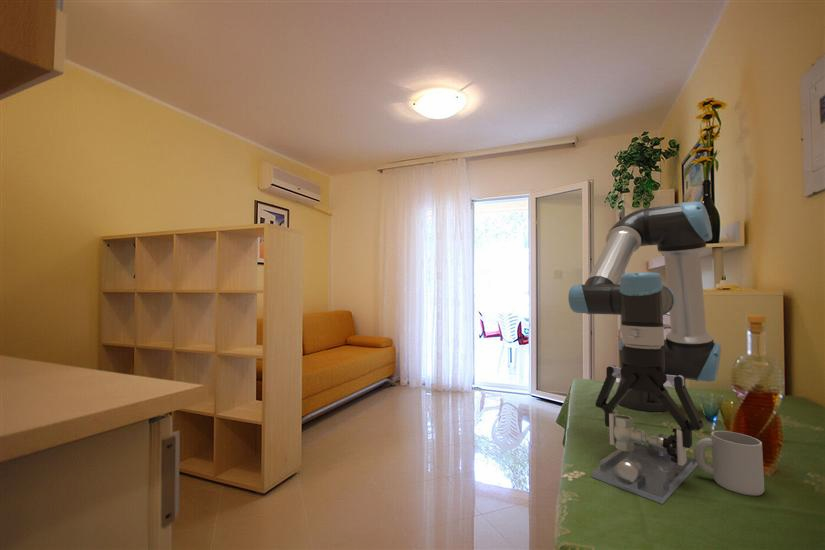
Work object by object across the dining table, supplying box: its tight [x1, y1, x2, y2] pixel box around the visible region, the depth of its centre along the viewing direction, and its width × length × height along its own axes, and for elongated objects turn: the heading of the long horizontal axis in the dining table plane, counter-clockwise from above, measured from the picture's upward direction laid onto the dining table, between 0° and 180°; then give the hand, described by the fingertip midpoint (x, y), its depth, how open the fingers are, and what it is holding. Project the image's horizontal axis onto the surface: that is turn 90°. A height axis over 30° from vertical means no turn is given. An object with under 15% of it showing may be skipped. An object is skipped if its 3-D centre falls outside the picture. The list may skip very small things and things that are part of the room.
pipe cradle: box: [590, 433, 699, 505], centre depth 74 cm, size 23×12×5 cm, turn 130°
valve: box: [613, 413, 678, 464], centre depth 75 cm, size 7×7×12 cm
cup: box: [693, 430, 765, 497], centre depth 69 cm, size 7×10×9 cm
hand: (646, 452), depth 74 cm, fingers closed on valve, 11 cm apart
